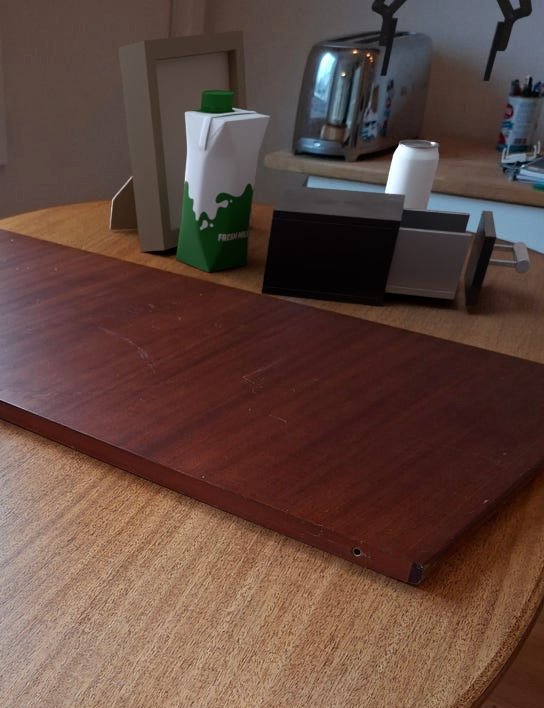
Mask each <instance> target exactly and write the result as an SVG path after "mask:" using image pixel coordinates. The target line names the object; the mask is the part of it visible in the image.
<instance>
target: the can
mask: <svg viewBox="0 0 544 708" xmlns="http://www.w3.org/2000/svg"><path fill="white" fill-rule="evenodd" d="M439 147H440V144H439V143H438V142H436V141H431V140H424V139H423V140H422V139H404V140H400V141H399V142H398V146H397V148H396V149H395V151H394V152H393V155H392V159H391V163H390V168H389V172H388V177H387V181H386V185H385V191H384V193H389V194H401V195H405V200H404V206H403V208H414V209H426V210H428V205H429V201H430V198H431V193H432V189H433V186H434V181H435V177H436V172H437V169H438V164H439V160H440V153H439Z"/></svg>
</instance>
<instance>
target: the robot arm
mask: <svg viewBox="0 0 544 708" xmlns="http://www.w3.org/2000/svg"><path fill="white" fill-rule="evenodd" d="M407 1H408V0H392V2H391V3H390V4H387V3H385V2H386V0H374V1H373V3H372V4H371V11H372V12H374V13H376V14H378V15H380V16H381V18H382V22H381V27H380V32H379V39H378V47H385V50H384V56H383V60H382V66H381V70H380V74H379V75H380V76H381V77H386V76H387V74H388V70H389V69H388V68H389V65H390V61H391V55H392V50H393V46H394V41H395V35H396V30H397V27H398V21H399V17H394V15H395V14H396V12H397V11H398V10H399V9H400V8H401V7H402V6H403V5H404V4H405V3H406V2H407ZM496 2H497V5H498V7H499V9H500V11H501V14H502V16H503V17H504V18H503V21H502V20H501V21H498V20H497V23H496V26H495V30H494V34H493V37H492V42H491V44H490V49H489V52H488V56H487V60H486V64H485V68H484V71H483V76H482V81H483V82H490V80H491V76H492V71H493V69H494V64H495V61H496V57H497V52H505V51H506V49H507V48H508V46H509V42H510V38H511V35H512V34H511V33H512V31H513V27H514V24H515V23H516V22H517V21H518V20H520V19H524V18H527V17H529V16H531V14H532V13H533V6H532V5H533V4H532V0H518V4H519V7H516V8H514V7H513V5H512V3H511V1H510V0H496Z"/></svg>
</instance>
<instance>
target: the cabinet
mask: <svg viewBox="0 0 544 708" xmlns="http://www.w3.org/2000/svg"><path fill="white" fill-rule="evenodd" d="M404 200H405V195H401V194H389V193H385V192H376V191H363V190H352V189H351V190H349V189H338V188H336V189H335V188H327V187H326V188H323V187H313V186H301V185H300V186H299V185H288V186H287V187H286V189H285V190H284V192H283V193H282V196H281V197H280V199H279V200H278V202H277V204H276V205H275V207H274V208H273V210H272V216H271V217H272V218H271V225H270V231H269V236H268V244H267V251H266V258H265V263H264V264H265V265H264V270H263V271H264V272H263V277H262V278H263V279H262V286H261V292H260V293H261V294H267V295H276V296H284V297H293V298H303V299H310V300H311V299H312V300H321V301H330V302H338V303H339V302H340V303H348V304H357V305H366V306H376V307H382V305H383V302H384V297H385V293H386V292H385V289H386V284H387V280H388V276H389V271H390V267H391V263H392V258H393V254H394V250H395V245H396V241H397V237H398V232H399V228H400V224H401V219H402V212H403V206H404Z"/></svg>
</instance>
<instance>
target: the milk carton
mask: <svg viewBox="0 0 544 708" xmlns="http://www.w3.org/2000/svg"><path fill="white" fill-rule="evenodd" d="M233 99H234V92H231V91H224V90H208V91H203V92H202V101H201V109H199V110H192V111H188V112H185V121H186V136H187V161H186V173H185V185H184V196H183V208H182V219H181V227H180V234H179V241H178V246H177V249H176V256H175V260H177V261H178V262H180V263H184V264H187V265H189V266H191V267H194V268H196V269H199V270H201V271H204V272H205V273H206V272H207V273H212V272H213V273H214V272H217V271H222V270H228V269H232V268H237V267H242V266H247V265H248V258H249V257H248V255H249V236H250V235H249V233H250V223H251V222H250V214H251V206H253V199H254V190H255V183H256V175H257V169H258V160H259V154H260V150H261V147H262V145H263V144H262V143H263V141H264V138H265V134H266V131H267V128H268V124H269V122H270V118H271V116H270V115H266V114H262V113H258V112H257V111H254V110H248V109H247V110H242V109H236V108H233ZM249 222H250V223H249Z"/></svg>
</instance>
